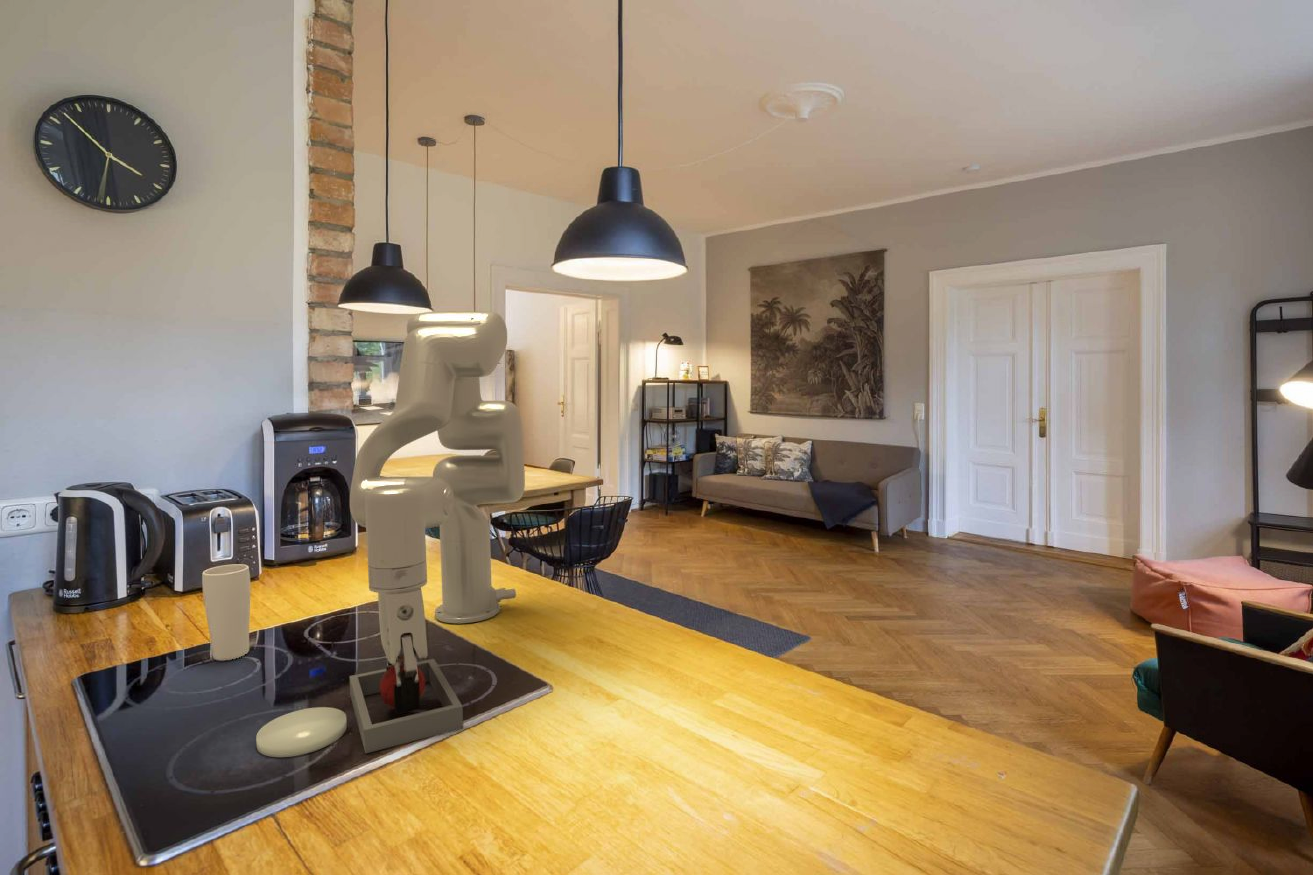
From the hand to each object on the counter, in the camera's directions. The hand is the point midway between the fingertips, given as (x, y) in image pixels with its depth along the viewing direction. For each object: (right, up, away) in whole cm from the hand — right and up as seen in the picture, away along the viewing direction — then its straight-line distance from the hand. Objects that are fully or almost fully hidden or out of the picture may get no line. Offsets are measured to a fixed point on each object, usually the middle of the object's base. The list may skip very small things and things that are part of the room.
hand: (403, 700), depth 93 cm
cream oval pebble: (-11, -2, -6) cm, 13 cm away
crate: (0, -2, 0) cm, 2 cm away
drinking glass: (-37, -1, +20) cm, 42 cm away
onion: (0, -2, 0) cm, 2 cm away
